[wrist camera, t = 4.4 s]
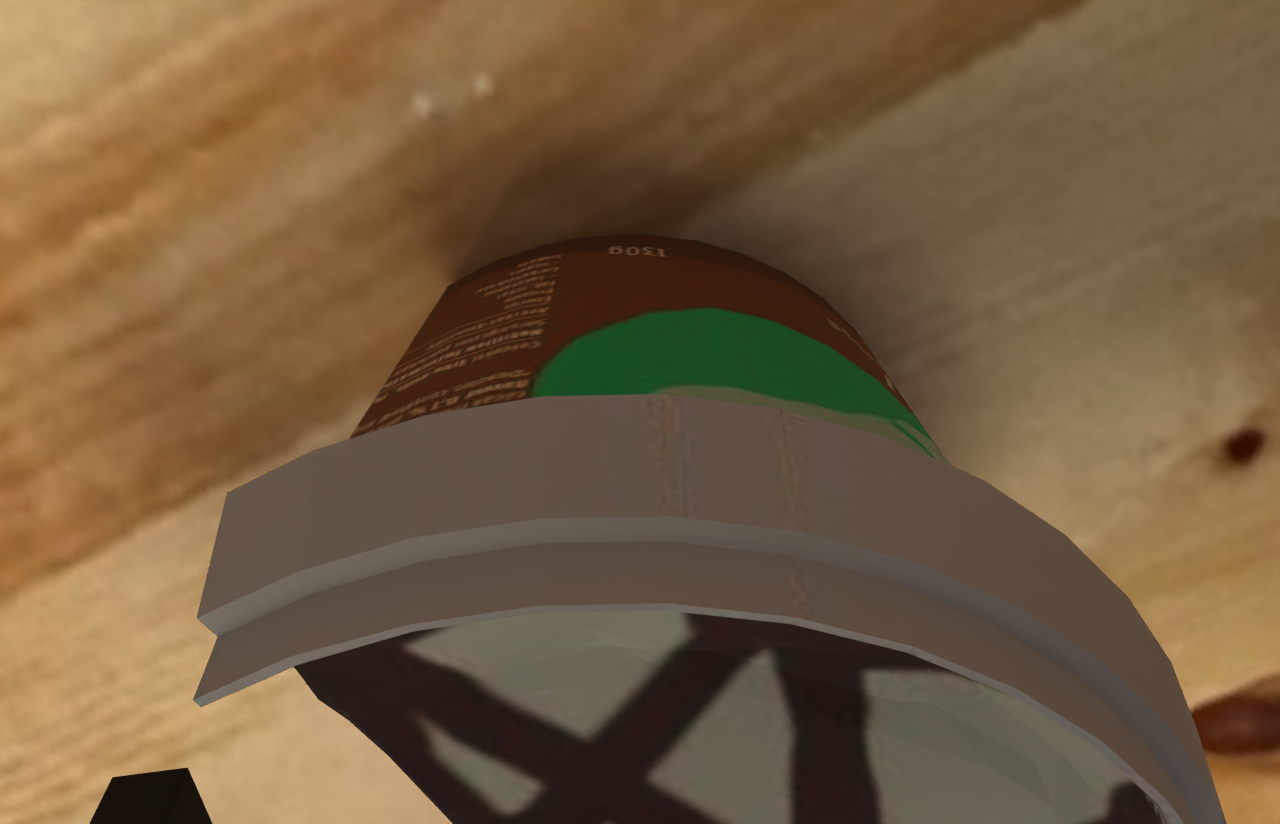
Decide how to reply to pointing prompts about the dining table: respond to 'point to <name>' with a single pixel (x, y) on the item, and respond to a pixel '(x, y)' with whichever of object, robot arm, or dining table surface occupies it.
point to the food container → (689, 576)
